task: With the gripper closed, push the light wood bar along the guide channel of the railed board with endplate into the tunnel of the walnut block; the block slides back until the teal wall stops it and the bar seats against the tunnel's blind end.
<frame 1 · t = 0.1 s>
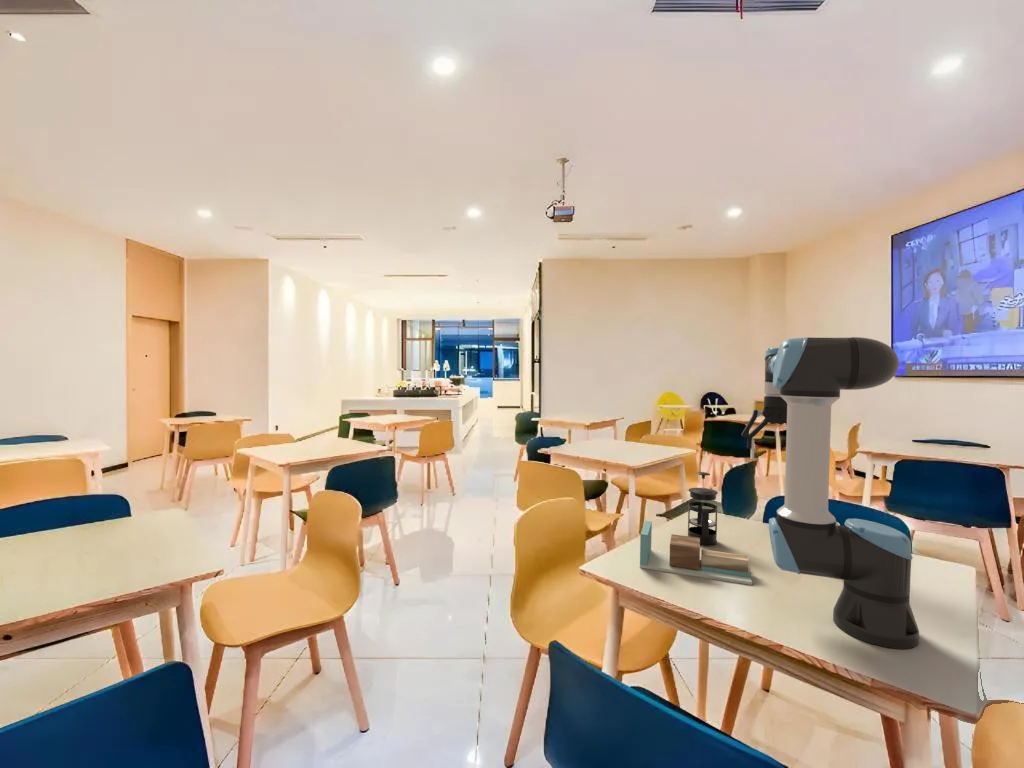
hand: (775, 460, 155), 28 cm above the table, fingers open, 13 cm apart
teapot: (820, 561, 143), on the table
light wood bar: (723, 568, 135), point 1 cm above the table, touching railed board with endplate
railed board with endplate: (693, 567, 138), on the table
block: (684, 551, 139), point 4 cm above the table, slide at 0.0 cm
french press: (702, 541, 159), on the table
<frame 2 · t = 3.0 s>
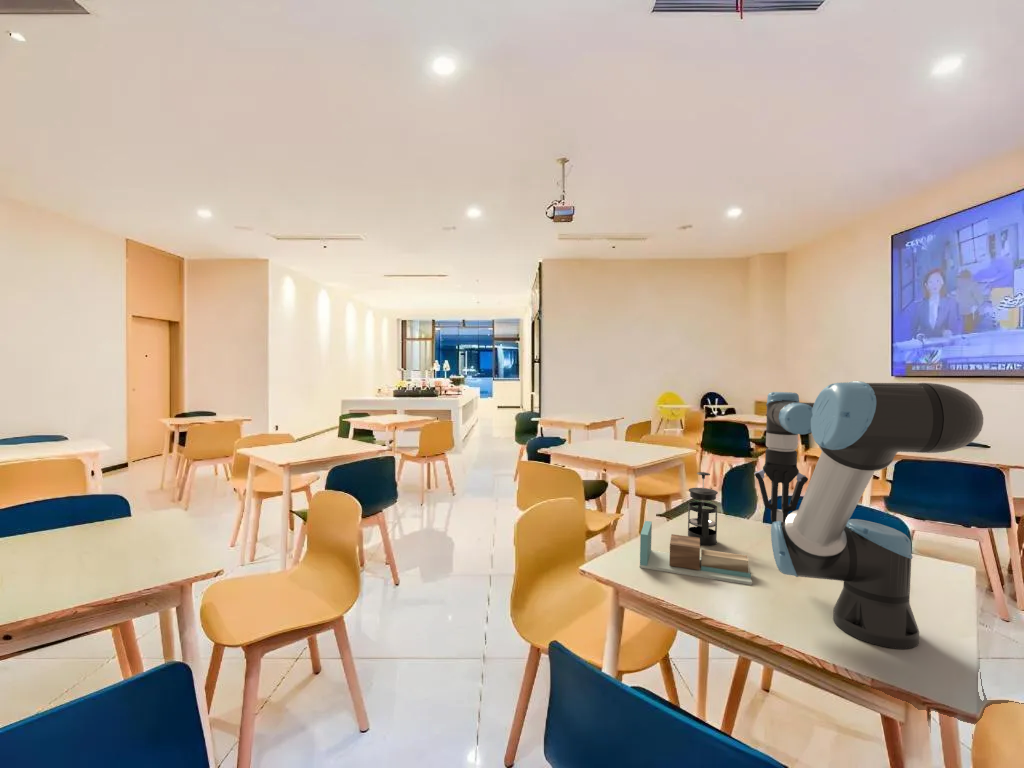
hand: (778, 534, 130), 12 cm above the table, fingers closed
nothing on the table moved.
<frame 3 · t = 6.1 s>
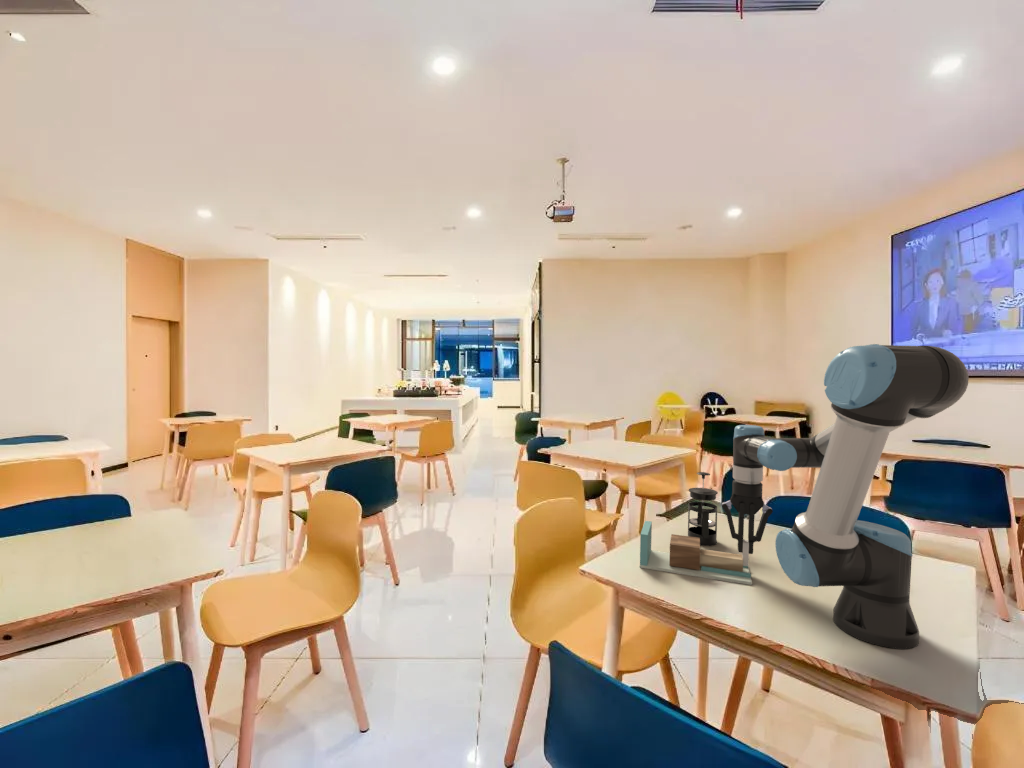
hand: (744, 564, 134), 3 cm above the table, fingers closed
light wood bar: (718, 567, 136), point 1 cm above the table, touching gripper
everything else where it was.
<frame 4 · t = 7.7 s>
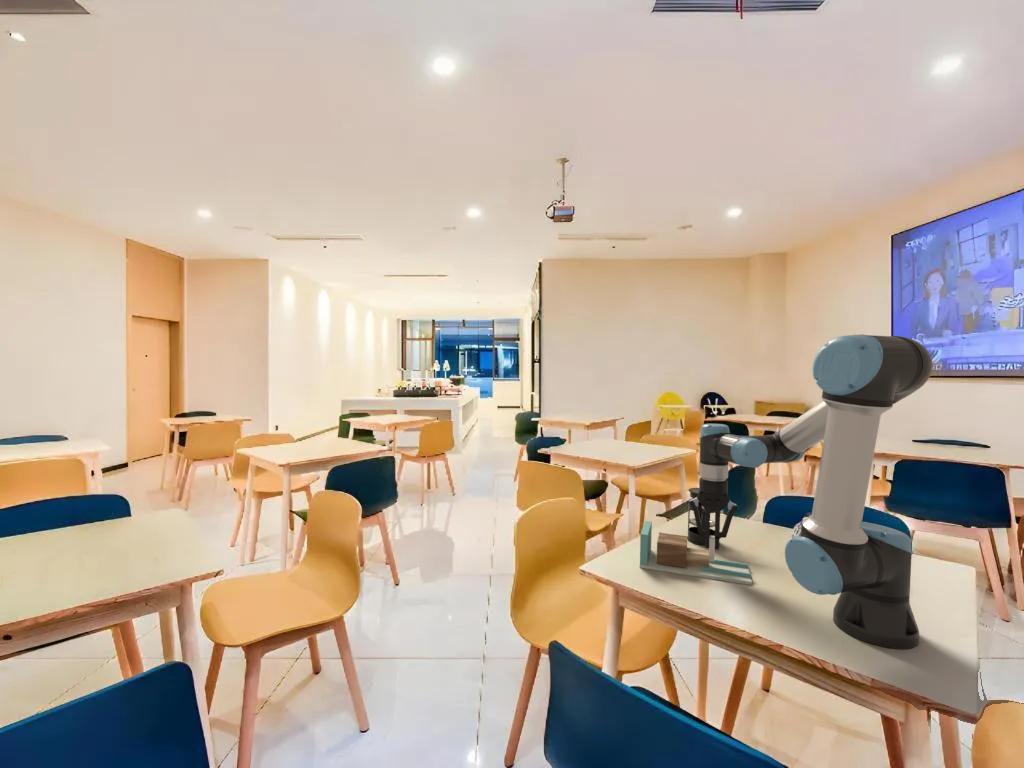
hand: (711, 559, 137), 3 cm above the table, fingers closed
light wood bar: (686, 563, 139), point 1 cm above the table, touching block, gripper
block: (672, 549, 140), point 4 cm above the table, slide at 3.5 cm, touching light wood bar
everything else where it was.
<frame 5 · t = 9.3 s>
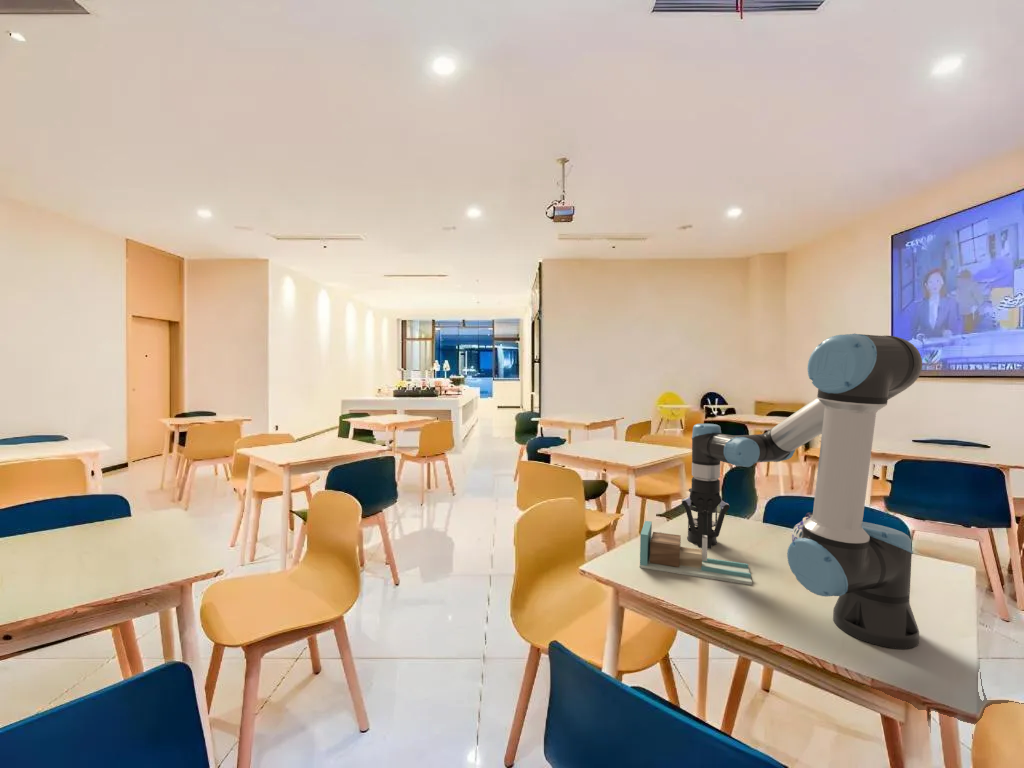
hand: (704, 559, 137), 3 cm above the table, fingers closed
light wood bar: (679, 562, 139), point 1 cm above the table, touching block, gripper, railed board with endplate
block: (665, 548, 141), point 4 cm above the table, slide at 5.4 cm, touching light wood bar
everything else where it was.
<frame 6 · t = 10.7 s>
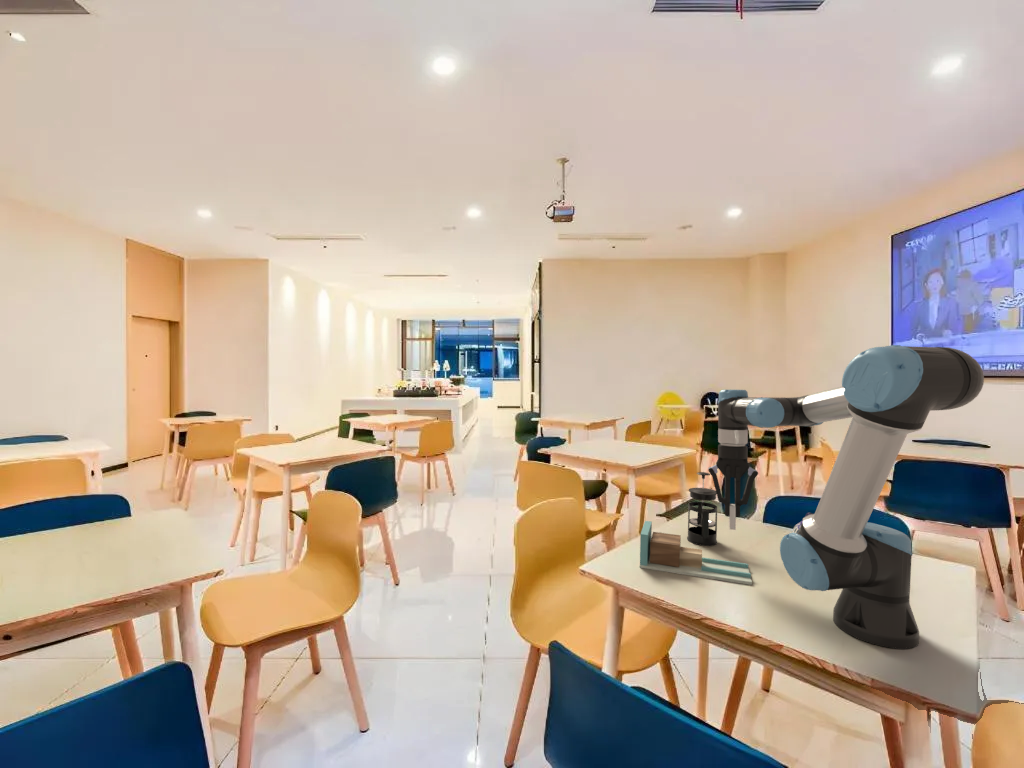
hand: (732, 528, 134), 13 cm above the table, fingers closed
light wood bar: (679, 562, 139), point 1 cm above the table, touching block, railed board with endplate
everything else where it was.
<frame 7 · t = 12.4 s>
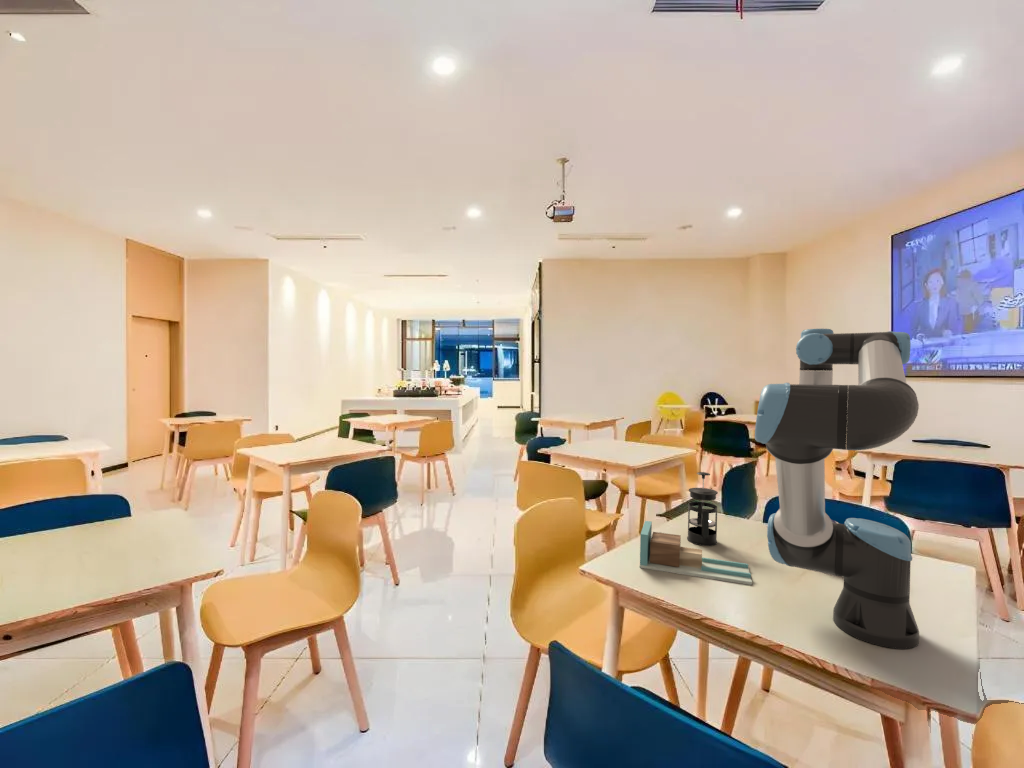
hand: (812, 474, 128), 29 cm above the table, fingers closed
nothing on the table moved.
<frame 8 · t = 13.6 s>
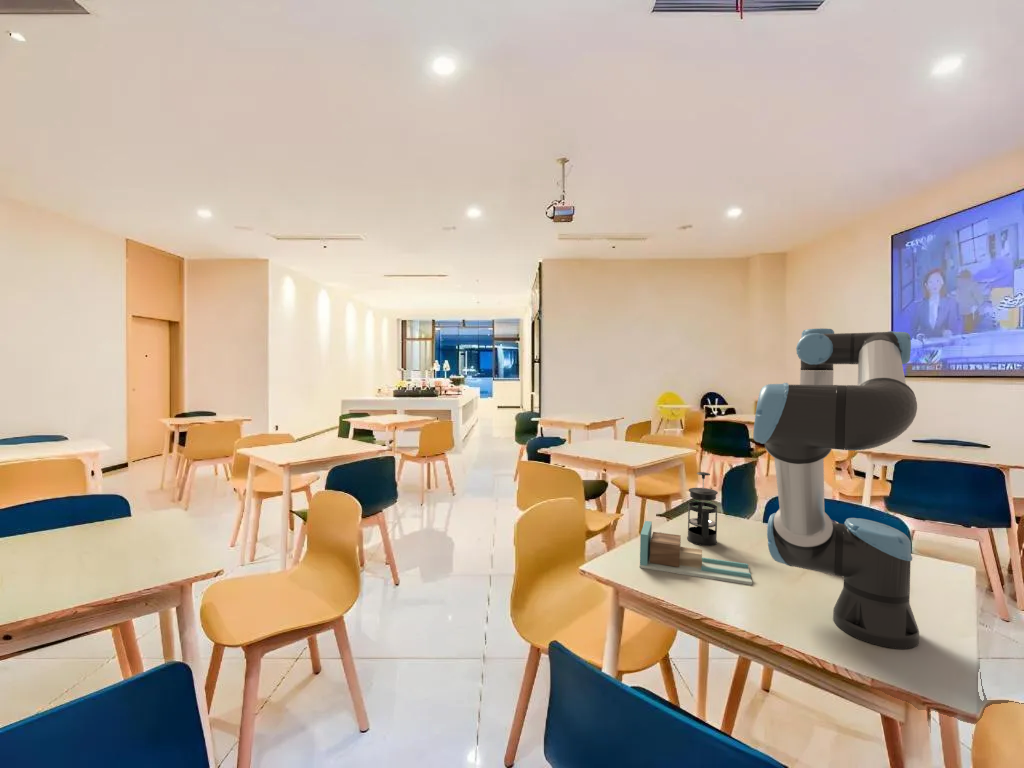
hand: (813, 474, 128), 29 cm above the table, fingers closed
nothing on the table moved.
at the end: block slide at 5.4 cm; light wood bar 0.5 cm from the target spot on the block, point 0.0 cm above the block's base; light wood bar touching block, railed board with endplate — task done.
